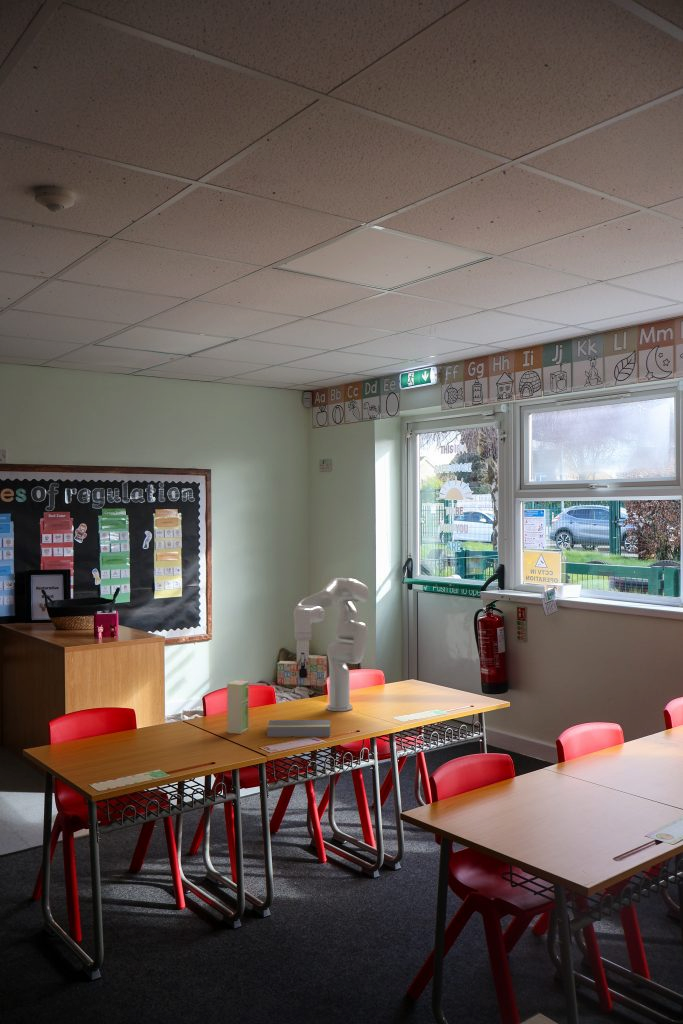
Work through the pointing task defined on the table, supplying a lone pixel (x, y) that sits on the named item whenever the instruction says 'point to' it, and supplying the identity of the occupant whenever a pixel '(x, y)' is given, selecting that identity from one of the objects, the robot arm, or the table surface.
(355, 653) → the robot arm
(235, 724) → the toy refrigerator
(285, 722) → the block
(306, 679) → the stack of blocks
